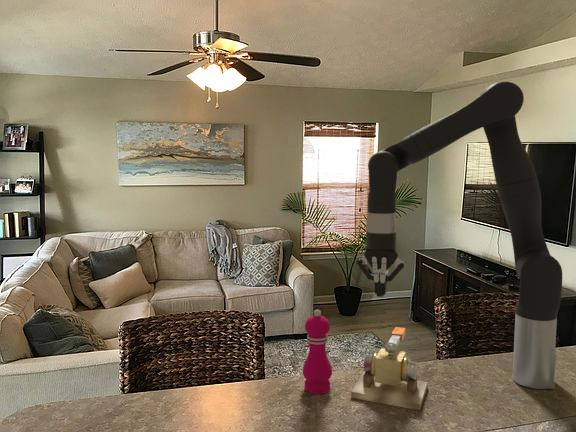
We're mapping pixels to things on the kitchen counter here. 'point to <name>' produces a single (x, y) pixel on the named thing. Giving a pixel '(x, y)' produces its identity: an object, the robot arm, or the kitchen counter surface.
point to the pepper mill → (317, 355)
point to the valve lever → (395, 339)
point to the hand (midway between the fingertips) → (380, 295)
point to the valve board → (390, 392)
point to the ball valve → (390, 367)
